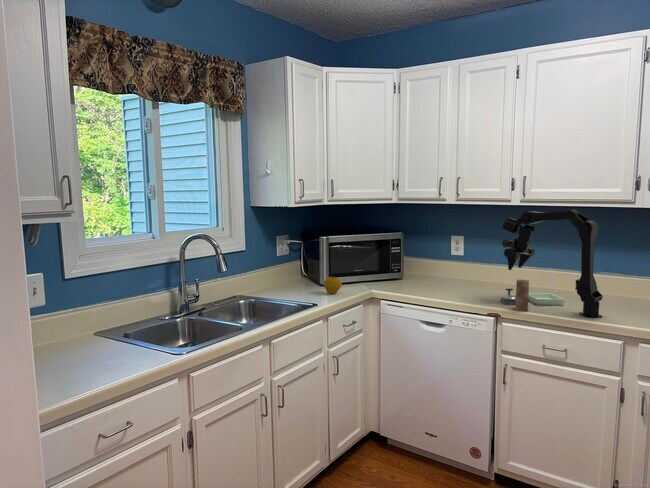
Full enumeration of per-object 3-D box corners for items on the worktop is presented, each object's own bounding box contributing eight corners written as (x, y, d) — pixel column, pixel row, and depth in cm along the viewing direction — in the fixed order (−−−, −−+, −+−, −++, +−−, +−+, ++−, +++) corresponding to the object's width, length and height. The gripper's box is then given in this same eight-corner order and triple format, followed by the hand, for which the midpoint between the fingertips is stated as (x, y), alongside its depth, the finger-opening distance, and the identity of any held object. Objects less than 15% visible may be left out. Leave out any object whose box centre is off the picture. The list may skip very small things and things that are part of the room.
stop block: (527, 308, 211) (528, 280, 210) (527, 311, 207) (529, 282, 205) (515, 307, 213) (516, 279, 212) (515, 310, 209) (516, 281, 207)
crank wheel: (520, 300, 219) (520, 291, 218) (507, 300, 219) (507, 291, 218) (514, 297, 225) (515, 288, 224) (502, 297, 225) (502, 288, 224)
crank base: (521, 304, 219) (521, 300, 218) (506, 304, 219) (506, 300, 218) (515, 301, 225) (515, 297, 225) (500, 301, 225) (500, 297, 225)
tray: (563, 305, 217) (563, 299, 217) (536, 305, 217) (537, 299, 217) (550, 299, 229) (551, 293, 229) (525, 299, 229) (525, 293, 229)
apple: (344, 293, 243) (344, 276, 242) (334, 296, 237) (334, 278, 235) (331, 291, 249) (331, 274, 248) (320, 294, 242) (320, 276, 241)
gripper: (518, 231, 231) (509, 260, 236) (497, 233, 219) (488, 264, 224) (539, 238, 224) (530, 269, 228) (519, 241, 212) (510, 273, 216)
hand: (514, 268), depth 224 cm, fingers open, 9 cm apart
